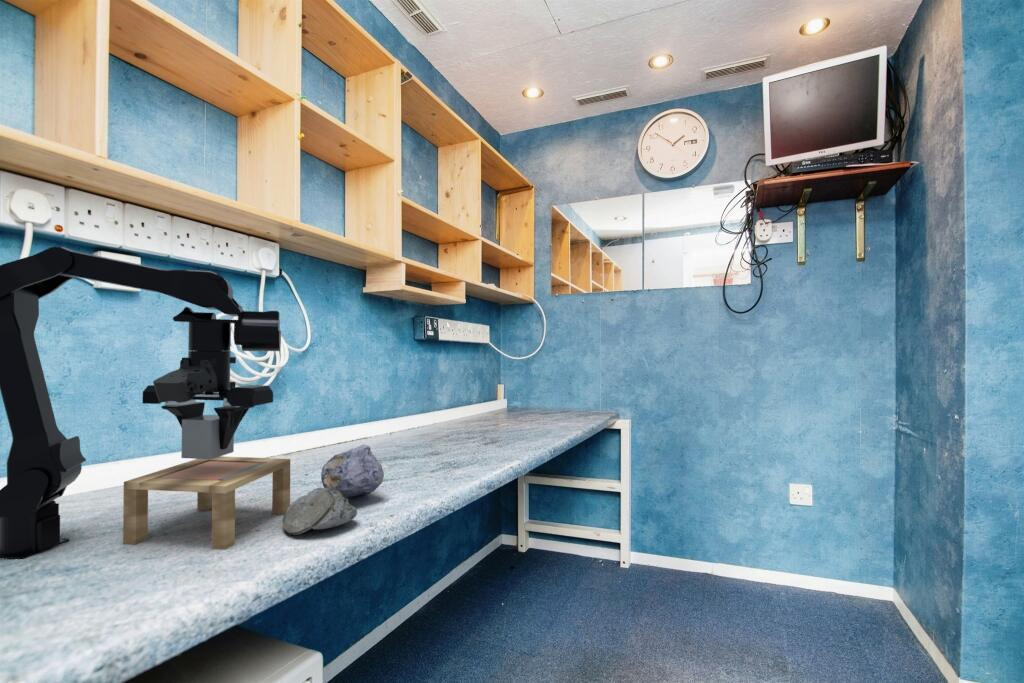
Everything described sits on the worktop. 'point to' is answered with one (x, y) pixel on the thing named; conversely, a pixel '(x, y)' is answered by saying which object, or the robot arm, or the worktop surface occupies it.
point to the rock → (353, 472)
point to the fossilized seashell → (318, 511)
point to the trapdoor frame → (204, 496)
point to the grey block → (203, 438)
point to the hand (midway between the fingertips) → (208, 448)
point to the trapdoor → (213, 470)
